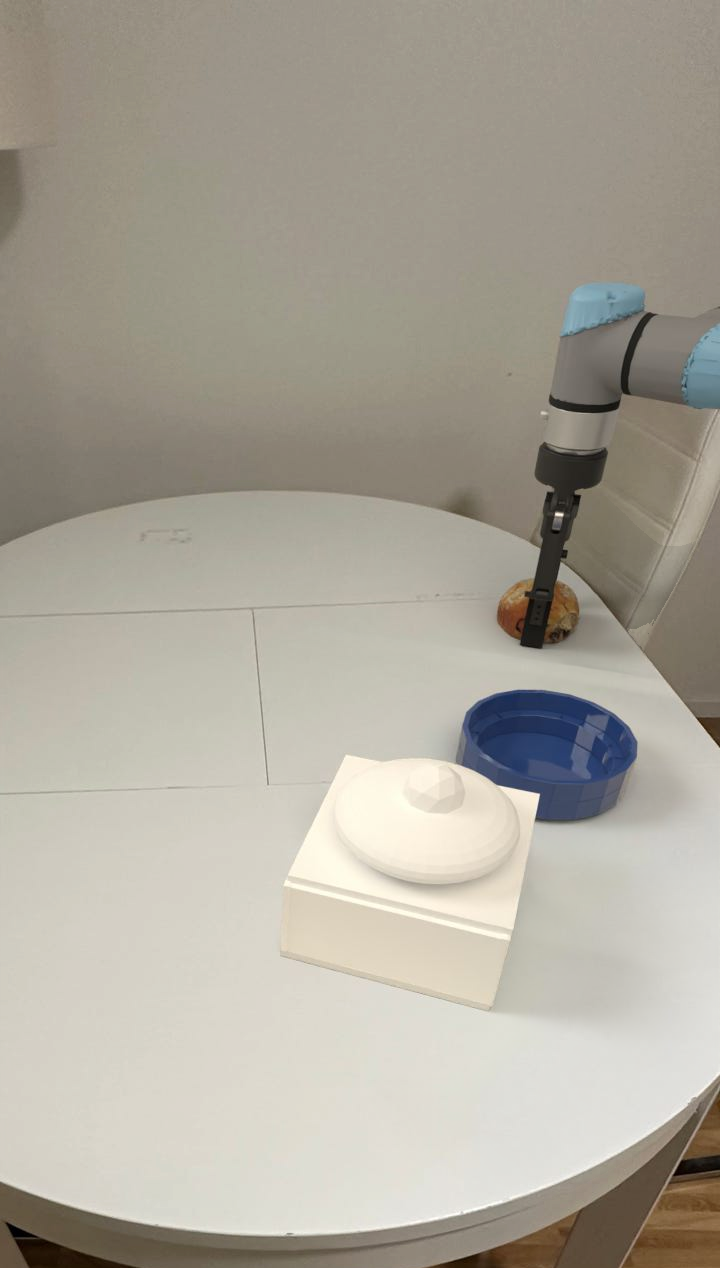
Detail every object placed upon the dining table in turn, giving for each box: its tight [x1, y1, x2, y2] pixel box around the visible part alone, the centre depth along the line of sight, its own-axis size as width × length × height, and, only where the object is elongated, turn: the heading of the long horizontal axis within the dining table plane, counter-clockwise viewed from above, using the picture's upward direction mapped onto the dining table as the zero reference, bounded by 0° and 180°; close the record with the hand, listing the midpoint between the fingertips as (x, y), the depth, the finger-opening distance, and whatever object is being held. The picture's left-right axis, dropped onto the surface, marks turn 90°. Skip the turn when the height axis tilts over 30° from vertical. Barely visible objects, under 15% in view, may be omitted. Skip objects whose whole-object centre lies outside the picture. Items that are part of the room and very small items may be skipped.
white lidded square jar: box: [280, 754, 540, 1012], centre depth 76 cm, size 18×18×16 cm
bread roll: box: [496, 577, 580, 644], centre depth 116 cm, size 10×10×8 cm
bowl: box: [455, 689, 639, 821], centre depth 95 cm, size 17×17×5 cm
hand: (535, 625), depth 117 cm, fingers closed on bread roll, 10 cm apart
